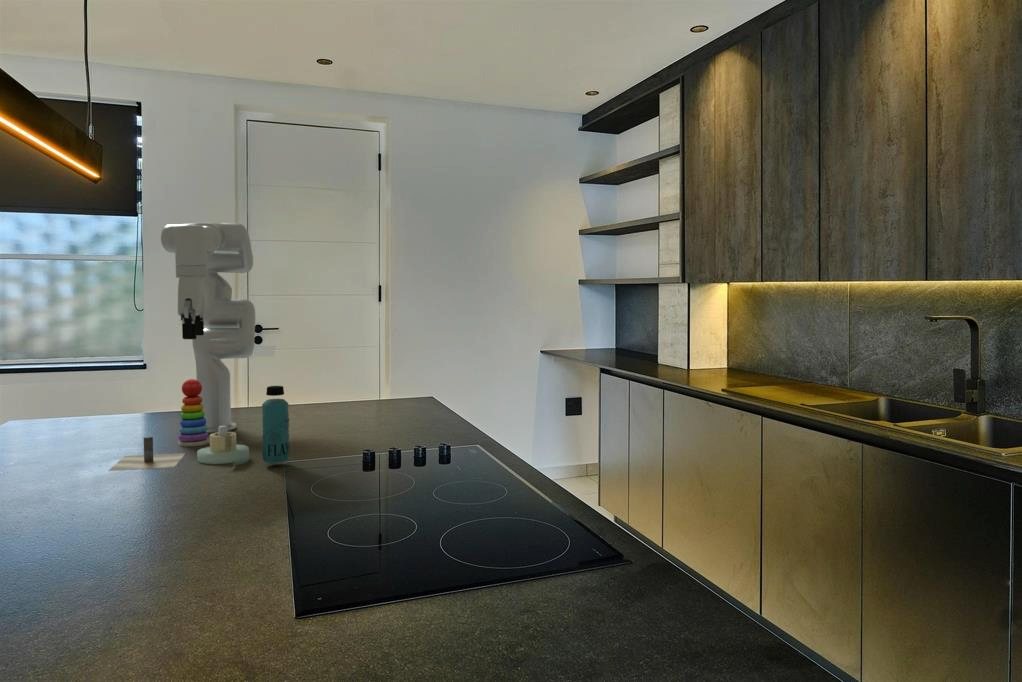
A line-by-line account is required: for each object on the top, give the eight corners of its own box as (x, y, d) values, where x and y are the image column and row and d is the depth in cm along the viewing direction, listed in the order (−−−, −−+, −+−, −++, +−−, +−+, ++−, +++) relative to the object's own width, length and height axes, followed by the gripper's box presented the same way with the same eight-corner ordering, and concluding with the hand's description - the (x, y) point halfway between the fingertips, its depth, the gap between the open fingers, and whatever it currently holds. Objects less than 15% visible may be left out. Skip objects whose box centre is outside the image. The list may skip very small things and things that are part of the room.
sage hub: (201, 456, 170) (201, 422, 170) (251, 454, 174) (250, 421, 173) (193, 469, 159) (192, 432, 158) (246, 466, 162) (245, 430, 161)
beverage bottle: (263, 470, 159) (262, 388, 157) (260, 463, 165) (259, 384, 163) (291, 467, 162) (291, 387, 160) (287, 461, 168) (286, 383, 166)
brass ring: (220, 446, 170) (220, 431, 169) (241, 447, 168) (240, 432, 168) (204, 451, 164) (204, 435, 163) (225, 453, 162) (225, 437, 162)
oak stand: (125, 460, 166) (124, 432, 166) (185, 456, 170) (185, 430, 169) (108, 474, 153) (107, 445, 152) (174, 471, 157) (173, 442, 156)
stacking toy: (215, 443, 185) (214, 378, 184) (199, 450, 177) (197, 381, 176) (189, 442, 186) (187, 377, 184) (171, 449, 178) (170, 380, 177)
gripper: (183, 271, 179) (185, 333, 181) (167, 272, 162) (169, 340, 164) (213, 272, 181) (214, 333, 183) (200, 273, 164) (202, 340, 166)
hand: (193, 337), depth 173 cm, fingers open, 9 cm apart
